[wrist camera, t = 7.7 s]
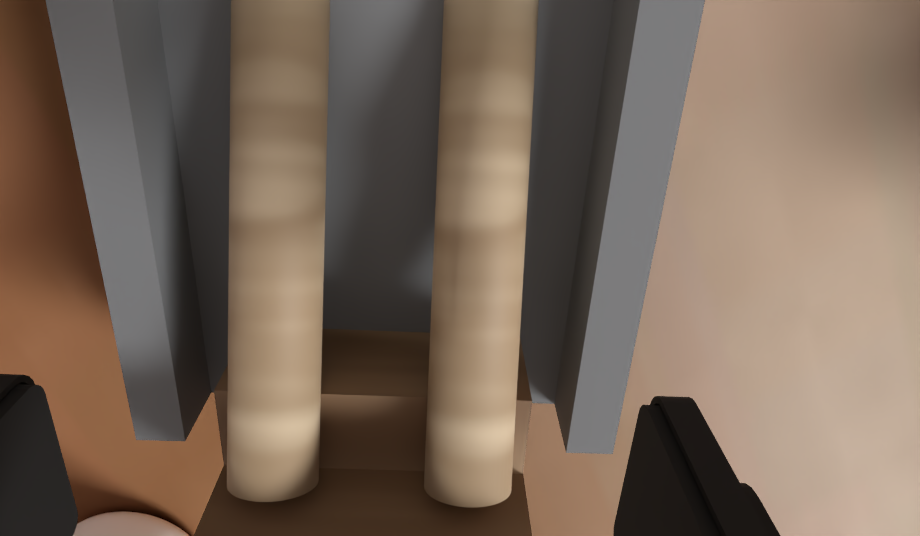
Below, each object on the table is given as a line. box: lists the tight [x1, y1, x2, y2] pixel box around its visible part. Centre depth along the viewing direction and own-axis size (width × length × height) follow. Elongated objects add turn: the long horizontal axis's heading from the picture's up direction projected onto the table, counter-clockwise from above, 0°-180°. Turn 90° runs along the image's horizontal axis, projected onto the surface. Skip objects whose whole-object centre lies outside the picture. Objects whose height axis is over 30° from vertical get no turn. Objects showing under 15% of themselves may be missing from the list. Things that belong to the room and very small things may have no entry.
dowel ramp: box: [194, 0, 539, 536], centre depth 14 cm, size 13×7×8 cm, turn 177°
